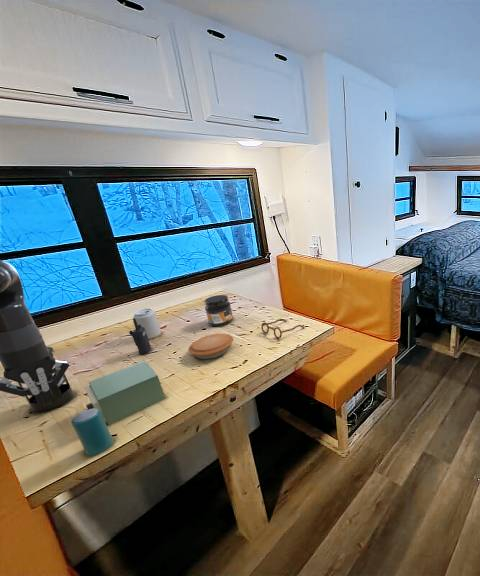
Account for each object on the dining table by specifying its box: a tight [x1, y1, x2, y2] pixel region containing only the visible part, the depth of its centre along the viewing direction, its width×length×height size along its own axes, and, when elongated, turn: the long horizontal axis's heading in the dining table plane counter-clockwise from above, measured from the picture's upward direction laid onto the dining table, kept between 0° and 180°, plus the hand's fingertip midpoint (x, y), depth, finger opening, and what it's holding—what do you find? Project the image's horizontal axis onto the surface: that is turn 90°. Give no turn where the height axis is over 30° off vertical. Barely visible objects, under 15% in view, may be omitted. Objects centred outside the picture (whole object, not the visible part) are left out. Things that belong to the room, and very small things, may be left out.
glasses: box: [261, 318, 305, 340], centre depth 133 cm, size 13×13×5 cm
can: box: [132, 308, 162, 340], centre depth 130 cm, size 8×8×12 cm
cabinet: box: [88, 360, 166, 426], centre depth 91 cm, size 14×13×9 cm
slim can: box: [70, 408, 114, 457], centre depth 75 cm, size 5×5×10 cm
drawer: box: [84, 385, 107, 423], centre depth 89 cm, size 14×11×7 cm
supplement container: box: [204, 294, 234, 327], centre depth 141 cm, size 10×10×12 cm
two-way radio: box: [128, 317, 152, 355], centre depth 117 cm, size 6×4×15 cm
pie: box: [187, 333, 234, 360], centre depth 118 cm, size 16×16×5 cm
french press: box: [17, 346, 76, 414], centre depth 89 cm, size 12×9×23 cm
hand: (47, 403), depth 78 cm, fingers closed
